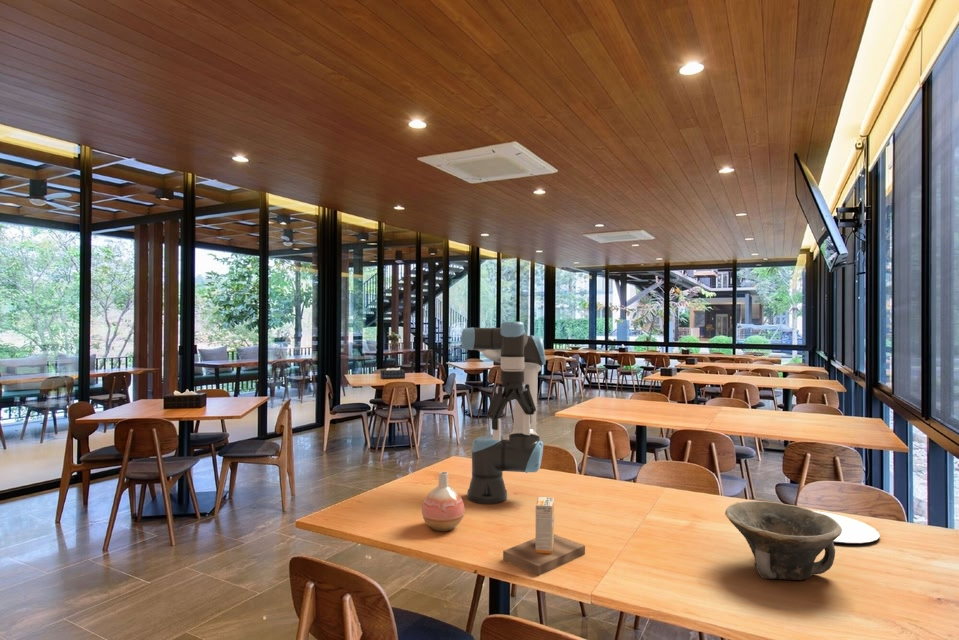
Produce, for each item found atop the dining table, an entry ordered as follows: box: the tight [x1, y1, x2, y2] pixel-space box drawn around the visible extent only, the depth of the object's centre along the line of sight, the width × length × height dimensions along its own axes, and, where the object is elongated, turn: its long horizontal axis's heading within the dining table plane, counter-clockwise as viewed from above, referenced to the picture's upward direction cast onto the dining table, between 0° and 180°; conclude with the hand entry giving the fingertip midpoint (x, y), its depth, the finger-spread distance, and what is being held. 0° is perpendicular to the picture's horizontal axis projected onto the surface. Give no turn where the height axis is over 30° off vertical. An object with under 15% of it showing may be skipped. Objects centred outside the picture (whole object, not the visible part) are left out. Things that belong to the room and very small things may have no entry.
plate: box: [813, 510, 881, 545], centre depth 175 cm, size 29×29×2 cm
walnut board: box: [502, 533, 586, 577], centre depth 152 cm, size 20×13×2 cm, turn 133°
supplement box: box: [535, 496, 555, 554], centre depth 152 cm, size 8×5×13 cm, turn 169°
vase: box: [421, 471, 465, 532], centre depth 174 cm, size 14×14×18 cm
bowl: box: [724, 500, 842, 581], centre depth 143 cm, size 27×26×15 cm
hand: (512, 437), depth 172 cm, fingers open, 13 cm apart
